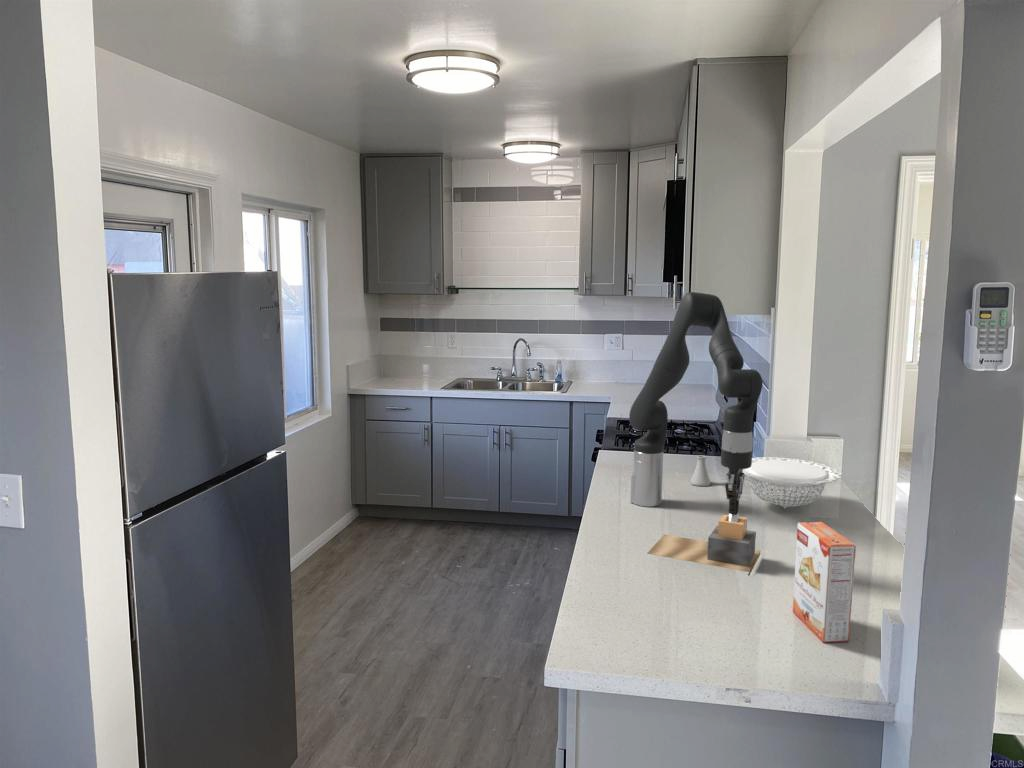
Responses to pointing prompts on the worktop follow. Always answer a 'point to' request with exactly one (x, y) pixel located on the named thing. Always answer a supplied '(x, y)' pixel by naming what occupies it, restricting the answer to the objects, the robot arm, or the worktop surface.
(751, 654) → the worktop surface
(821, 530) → the cracker box
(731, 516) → the steel shaft
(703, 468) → the flask
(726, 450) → the robot arm
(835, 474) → the white openwork bowl
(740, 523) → the block
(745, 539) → the bearing block
